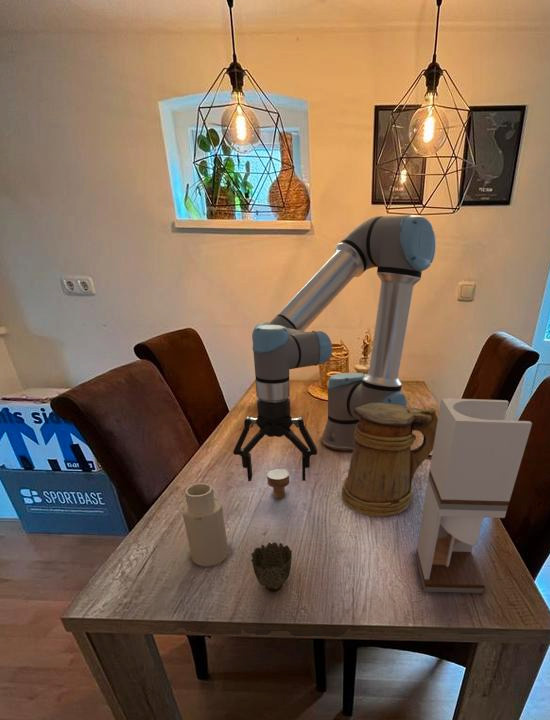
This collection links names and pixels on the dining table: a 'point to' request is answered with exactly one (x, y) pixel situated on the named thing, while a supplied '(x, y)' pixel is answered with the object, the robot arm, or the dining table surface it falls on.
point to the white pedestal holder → (466, 488)
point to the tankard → (386, 457)
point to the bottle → (204, 525)
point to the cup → (272, 565)
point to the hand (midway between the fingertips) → (277, 478)
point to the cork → (278, 481)
